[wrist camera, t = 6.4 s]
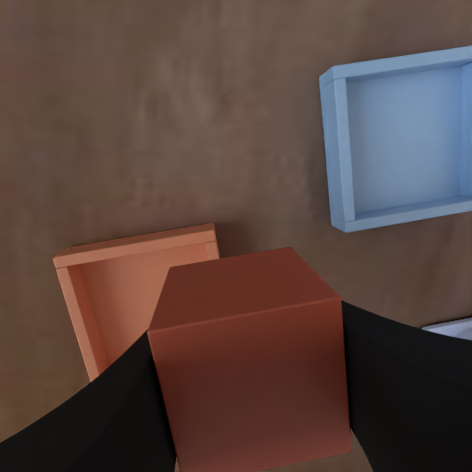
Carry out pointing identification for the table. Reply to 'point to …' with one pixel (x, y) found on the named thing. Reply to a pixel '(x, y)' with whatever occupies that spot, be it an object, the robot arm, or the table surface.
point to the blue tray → (398, 138)
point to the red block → (251, 363)
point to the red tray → (123, 286)
